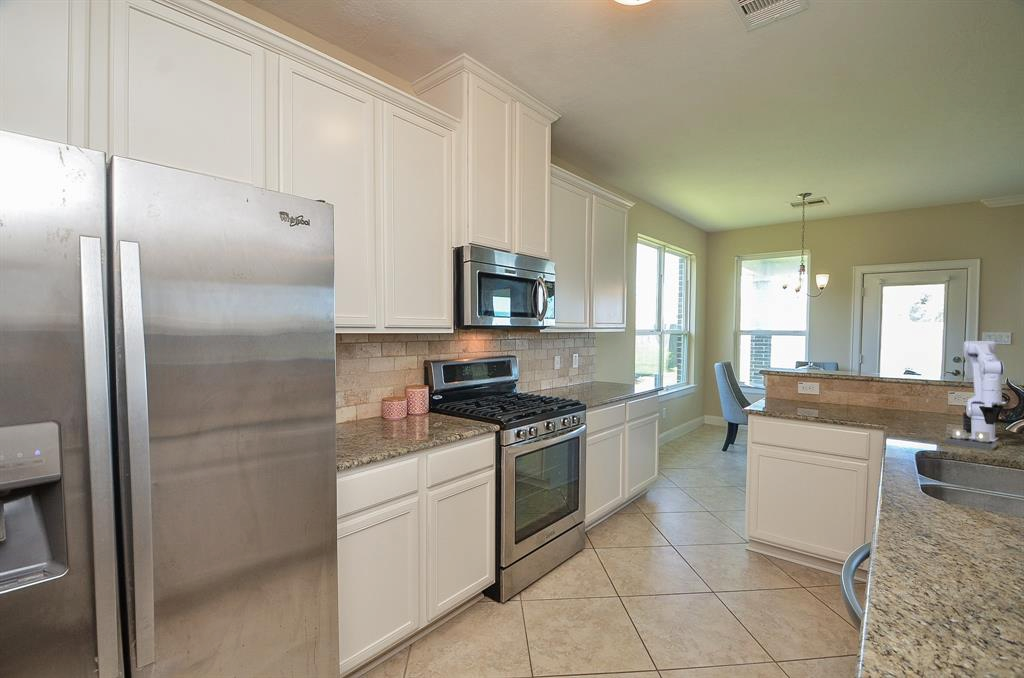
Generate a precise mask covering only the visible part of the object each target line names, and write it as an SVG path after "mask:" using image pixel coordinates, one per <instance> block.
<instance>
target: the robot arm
mask: <svg viewBox="0 0 1024 678" xmlns="http://www.w3.org/2000/svg"><path fill="white" fill-rule="evenodd" d="M962 350H963V357H964V361H967V362H970V366H971V371H972V380H973V395H974V396H972V397H970V398H968V399H967V400H966V406H965V407H966V411H965V412H967V416H969V417H971V433H970V435H969V437H968V438H969V439H975V431H980V432H988V433H989V435H990V441H993V442H997V440H999V437H996V424H997V423H998V422H999V419H1000V418H1001V412H1002V410H1003V409H1004V408H1005V405H1004V404H1007V401H1003V395H1002V394H1003V386H1002V385H1003V377H1002V376H1004V372H1005V364H1004V362H1003V360H999V359H998V357H997V355H996V353H997V342H996V341H995V340H987V341H986V340H965V341H963V349H962ZM1002 404H1003V405H1002Z"/></svg>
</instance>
